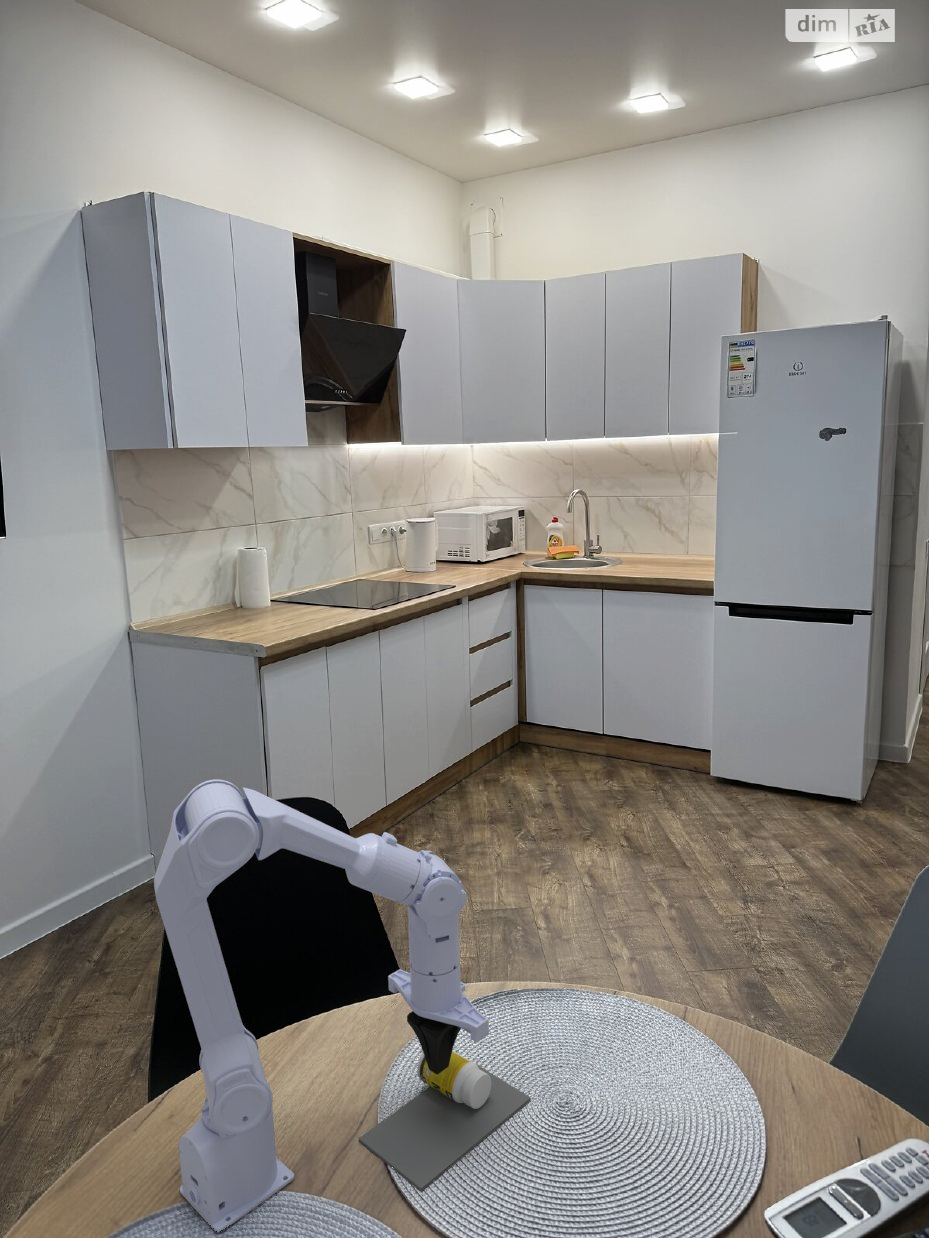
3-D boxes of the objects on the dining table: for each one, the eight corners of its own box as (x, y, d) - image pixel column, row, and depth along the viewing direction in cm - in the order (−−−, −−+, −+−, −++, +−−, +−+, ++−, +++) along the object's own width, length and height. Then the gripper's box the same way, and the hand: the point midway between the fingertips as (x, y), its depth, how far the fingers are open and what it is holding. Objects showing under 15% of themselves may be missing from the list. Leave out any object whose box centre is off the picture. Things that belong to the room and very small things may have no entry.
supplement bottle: (410, 1078, 107) (462, 1110, 102) (425, 1038, 109) (477, 1068, 103) (432, 1082, 111) (484, 1113, 105) (447, 1044, 112) (499, 1073, 107)
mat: (421, 1191, 94) (421, 1188, 94) (358, 1141, 101) (358, 1138, 101) (530, 1100, 106) (530, 1097, 106) (468, 1061, 114) (468, 1058, 114)
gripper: (506, 970, 99) (508, 1078, 101) (417, 925, 108) (421, 1024, 111) (461, 999, 94) (465, 1112, 96) (372, 949, 104) (378, 1053, 106)
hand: (439, 1067), depth 103 cm, fingers closed
